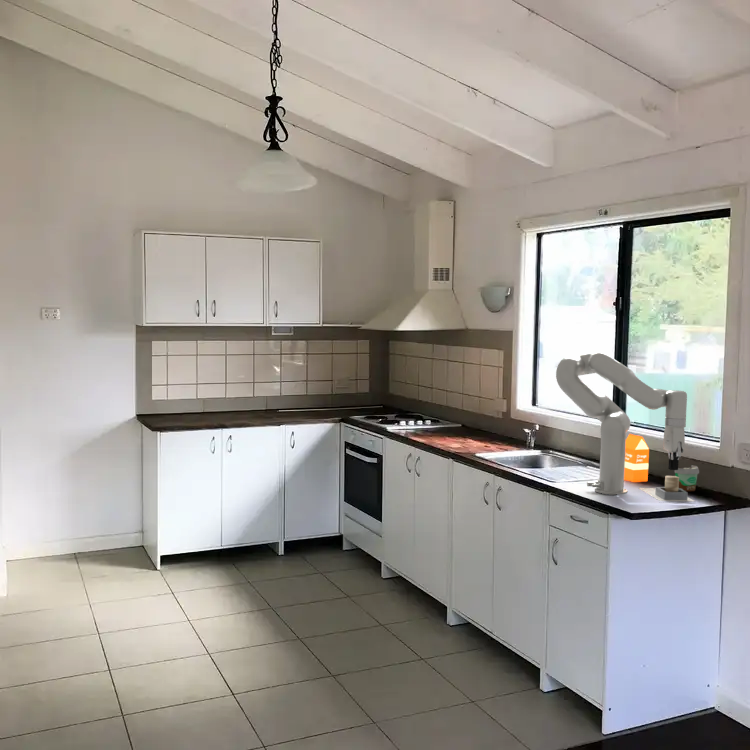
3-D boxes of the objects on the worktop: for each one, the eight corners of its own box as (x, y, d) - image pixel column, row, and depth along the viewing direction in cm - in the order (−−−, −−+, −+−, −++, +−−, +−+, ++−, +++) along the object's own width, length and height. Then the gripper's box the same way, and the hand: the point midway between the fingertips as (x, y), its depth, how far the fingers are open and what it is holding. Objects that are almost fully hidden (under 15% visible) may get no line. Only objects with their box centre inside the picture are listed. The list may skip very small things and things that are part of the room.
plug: (667, 498, 318) (668, 478, 318) (662, 495, 323) (663, 475, 322) (680, 498, 318) (681, 478, 318) (674, 495, 323) (675, 475, 323)
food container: (686, 495, 329) (688, 470, 328) (673, 492, 334) (674, 467, 333) (704, 491, 336) (705, 467, 336) (690, 488, 341) (692, 464, 341)
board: (659, 502, 315) (659, 500, 315) (638, 489, 336) (638, 488, 336) (695, 503, 315) (695, 501, 315) (672, 490, 337) (672, 488, 337)
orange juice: (632, 484, 348) (635, 437, 346) (619, 479, 356) (621, 433, 355) (647, 483, 351) (650, 436, 349) (634, 478, 359) (636, 433, 357)
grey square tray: (664, 499, 316) (664, 492, 316) (655, 494, 325) (655, 487, 325) (687, 500, 316) (687, 492, 316) (677, 494, 325) (678, 487, 325)
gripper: (658, 419, 326) (656, 465, 327) (673, 425, 311) (671, 473, 312) (677, 420, 326) (675, 466, 327) (693, 425, 311) (690, 473, 312)
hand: (673, 469), depth 320 cm, fingers closed
